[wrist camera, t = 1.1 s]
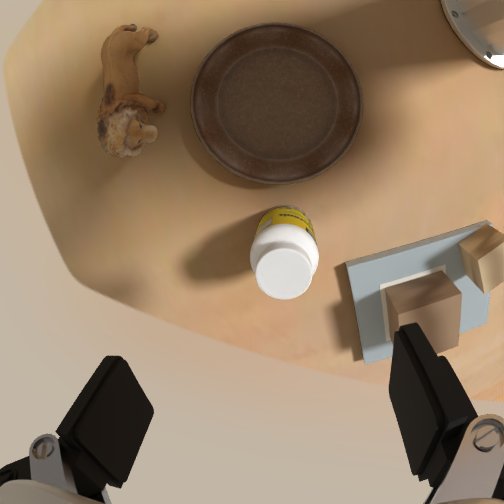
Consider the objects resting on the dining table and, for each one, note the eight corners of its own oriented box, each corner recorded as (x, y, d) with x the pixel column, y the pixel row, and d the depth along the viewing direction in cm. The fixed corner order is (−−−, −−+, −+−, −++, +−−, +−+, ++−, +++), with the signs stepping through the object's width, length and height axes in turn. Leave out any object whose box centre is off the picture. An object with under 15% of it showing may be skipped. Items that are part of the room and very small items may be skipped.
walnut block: (441, 270, 28) (462, 293, 23) (442, 320, 30) (457, 345, 26) (384, 287, 29) (398, 314, 25) (389, 337, 32) (400, 365, 27)
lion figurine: (188, 141, 27) (147, 148, 19) (141, 157, 28) (91, 172, 20) (155, 16, 22) (111, -14, 14) (111, 37, 23) (60, 19, 15)
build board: (486, 220, 26) (492, 223, 25) (482, 317, 31) (486, 322, 30) (345, 262, 30) (347, 267, 29) (363, 358, 35) (364, 364, 34)
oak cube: (486, 223, 25) (509, 238, 21) (493, 255, 26) (514, 273, 22) (457, 243, 27) (477, 260, 22) (466, 274, 28) (484, 294, 24)
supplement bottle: (324, 227, 29) (339, 273, 20) (288, 265, 31) (286, 321, 22) (282, 192, 28) (279, 223, 19) (246, 232, 30) (228, 279, 21)
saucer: (169, 117, 27) (158, 116, 24) (265, 5, 21) (263, -6, 19) (285, 210, 29) (285, 218, 27) (386, 101, 24) (395, 99, 21)
